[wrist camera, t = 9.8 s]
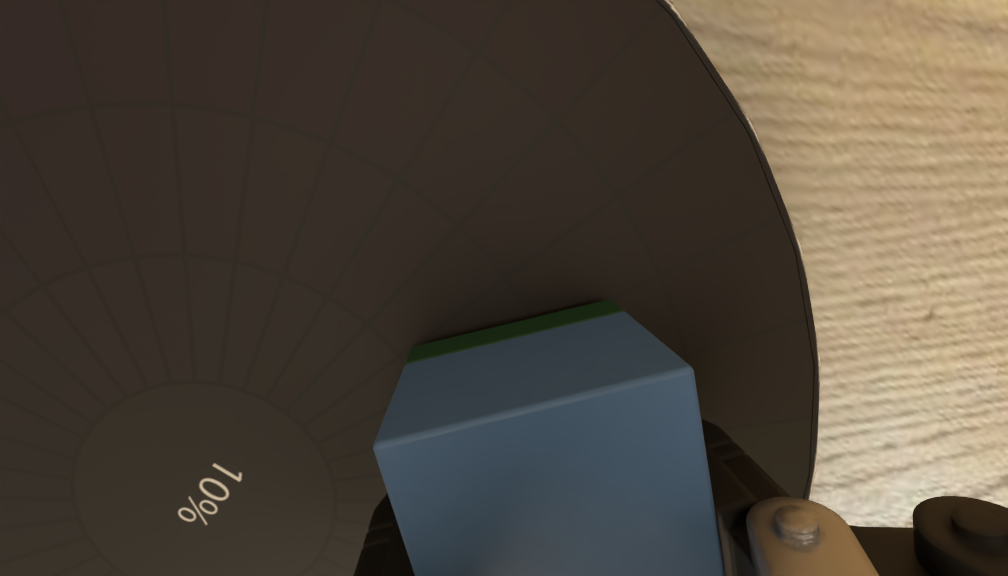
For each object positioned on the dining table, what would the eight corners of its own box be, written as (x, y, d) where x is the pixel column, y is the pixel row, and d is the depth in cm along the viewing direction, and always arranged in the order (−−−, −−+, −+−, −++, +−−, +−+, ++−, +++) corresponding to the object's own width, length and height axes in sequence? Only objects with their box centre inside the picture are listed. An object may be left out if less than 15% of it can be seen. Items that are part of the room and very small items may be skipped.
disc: (467, 899, 19) (466, 1033, 16) (-426, 636, 14) (-668, 757, 11) (944, 238, 14) (1070, 251, 11) (-153, -493, 9) (-447, -812, 6)
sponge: (410, 346, 10) (369, 446, 6) (611, 297, 10) (696, 366, 6) (485, 605, 12) (491, 814, 8) (660, 561, 12) (753, 749, 8)
